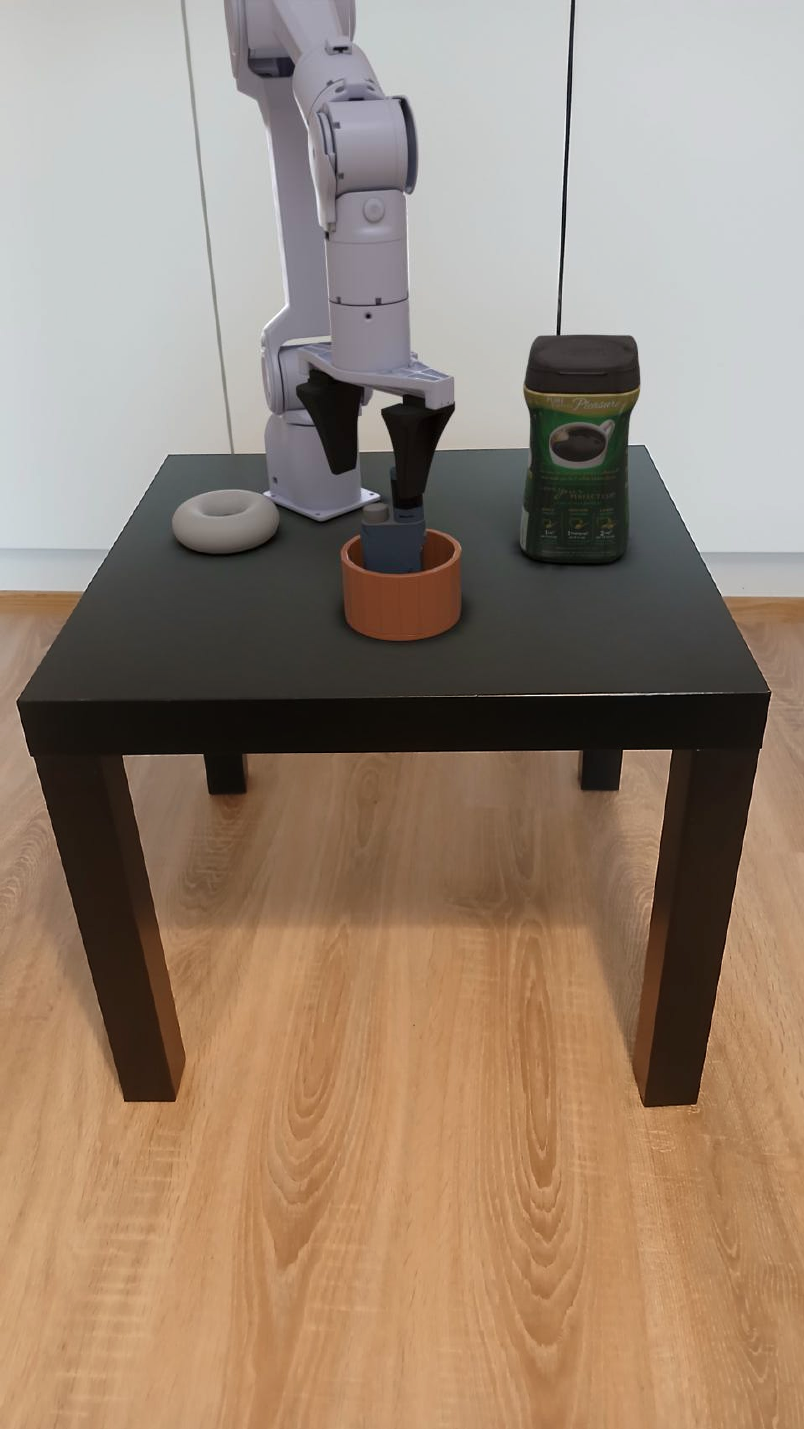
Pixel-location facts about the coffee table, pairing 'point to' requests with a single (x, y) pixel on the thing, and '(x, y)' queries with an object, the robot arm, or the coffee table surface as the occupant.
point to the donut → (225, 521)
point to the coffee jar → (578, 447)
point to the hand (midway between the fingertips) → (377, 482)
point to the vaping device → (394, 534)
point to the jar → (404, 592)
